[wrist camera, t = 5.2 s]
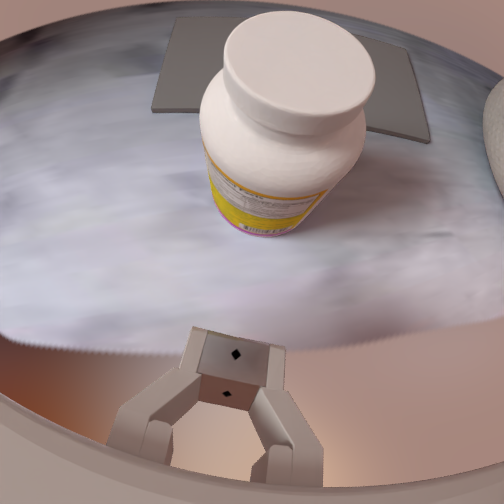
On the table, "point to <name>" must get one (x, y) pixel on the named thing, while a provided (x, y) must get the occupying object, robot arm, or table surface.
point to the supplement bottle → (283, 119)
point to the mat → (212, 61)
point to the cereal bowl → (495, 132)
